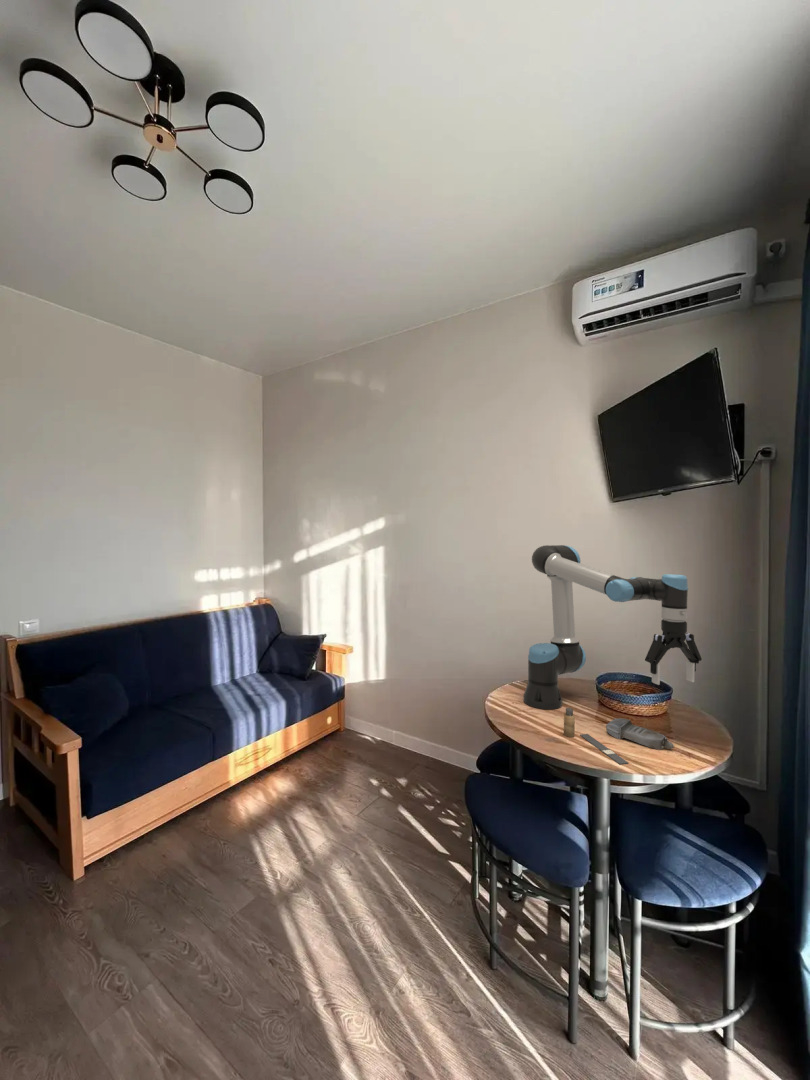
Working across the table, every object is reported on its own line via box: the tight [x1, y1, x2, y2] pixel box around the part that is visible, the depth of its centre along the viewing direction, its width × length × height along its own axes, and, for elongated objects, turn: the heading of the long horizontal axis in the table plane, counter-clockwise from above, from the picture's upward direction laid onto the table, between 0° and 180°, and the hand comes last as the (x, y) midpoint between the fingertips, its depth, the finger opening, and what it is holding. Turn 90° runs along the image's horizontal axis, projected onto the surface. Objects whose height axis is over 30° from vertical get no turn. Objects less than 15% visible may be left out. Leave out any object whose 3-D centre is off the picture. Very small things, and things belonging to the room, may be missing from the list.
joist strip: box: [579, 733, 629, 765], centre depth 144 cm, size 20×3×1 cm, turn 13°
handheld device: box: [605, 717, 675, 751], centre depth 150 cm, size 10×20×5 cm, turn 44°
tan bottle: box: [563, 707, 576, 738], centre depth 154 cm, size 4×4×9 cm
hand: (673, 682), depth 152 cm, fingers open, 13 cm apart
